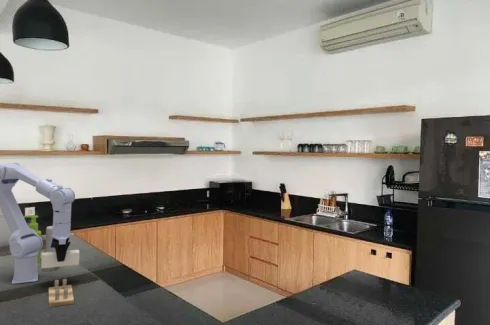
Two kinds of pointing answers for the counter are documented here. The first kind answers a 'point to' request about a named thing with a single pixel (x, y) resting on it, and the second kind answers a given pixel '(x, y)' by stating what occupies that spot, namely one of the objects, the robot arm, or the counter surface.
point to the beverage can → (49, 240)
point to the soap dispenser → (34, 226)
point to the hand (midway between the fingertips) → (60, 259)
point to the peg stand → (60, 294)
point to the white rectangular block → (51, 261)
